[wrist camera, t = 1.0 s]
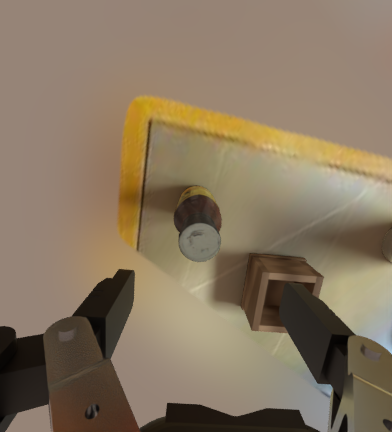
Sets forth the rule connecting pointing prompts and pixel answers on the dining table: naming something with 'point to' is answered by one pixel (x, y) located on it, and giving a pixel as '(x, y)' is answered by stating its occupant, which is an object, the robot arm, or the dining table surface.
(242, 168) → the dining table surface
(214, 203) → the sauce bottle
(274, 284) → the bottle caddy
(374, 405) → the robot arm
